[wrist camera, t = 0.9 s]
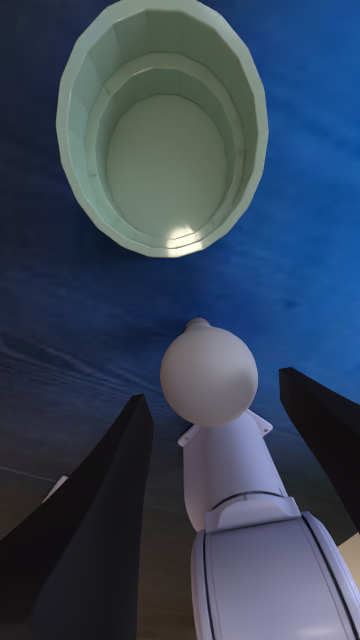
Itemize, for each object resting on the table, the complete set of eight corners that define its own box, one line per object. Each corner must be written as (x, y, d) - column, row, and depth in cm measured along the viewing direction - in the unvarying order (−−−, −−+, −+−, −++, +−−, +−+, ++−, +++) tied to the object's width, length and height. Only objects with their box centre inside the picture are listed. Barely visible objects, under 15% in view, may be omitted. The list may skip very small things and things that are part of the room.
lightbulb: (157, 337, 21) (135, 429, 10) (185, 286, 19) (192, 336, 9) (207, 361, 22) (233, 465, 12) (238, 314, 20) (302, 389, 10)
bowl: (180, 280, 19) (181, 292, 14) (67, 192, 16) (22, 171, 11) (272, 161, 15) (312, 125, 11) (148, 27, 13) (131, -96, 8)
